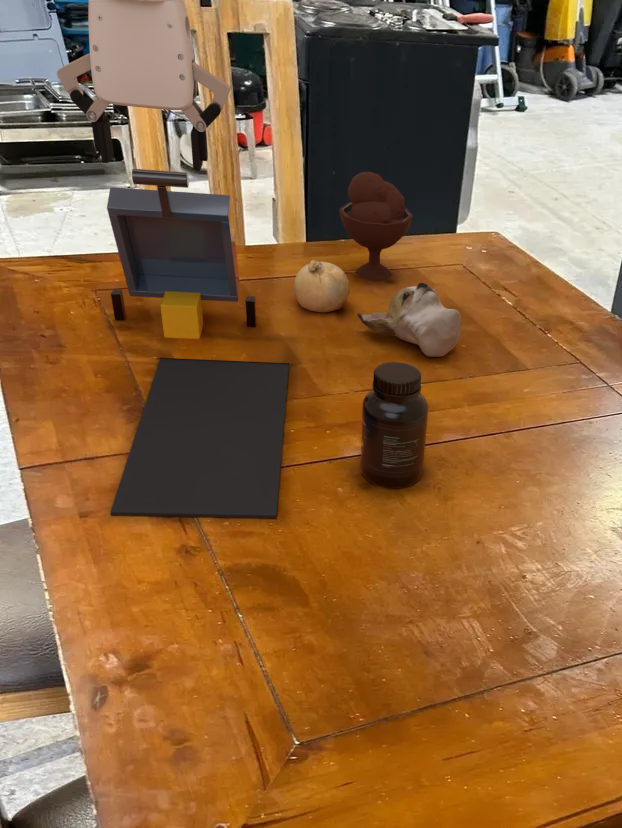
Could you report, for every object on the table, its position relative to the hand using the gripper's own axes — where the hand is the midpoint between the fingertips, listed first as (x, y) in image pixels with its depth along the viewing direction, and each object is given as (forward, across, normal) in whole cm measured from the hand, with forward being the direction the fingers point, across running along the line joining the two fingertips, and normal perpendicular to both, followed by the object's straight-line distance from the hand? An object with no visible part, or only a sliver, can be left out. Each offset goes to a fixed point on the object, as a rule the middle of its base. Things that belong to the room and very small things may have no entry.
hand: (153, 163), depth 98 cm
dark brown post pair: (+23, -1, -9) cm, 25 cm away
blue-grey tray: (+9, 0, -9) cm, 12 cm away
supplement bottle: (+23, -27, +26) cm, 44 cm away
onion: (+23, -19, -17) cm, 34 cm away
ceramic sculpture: (+23, -32, -7) cm, 40 cm away
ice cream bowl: (+23, -27, -31) cm, 47 cm away
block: (+20, -1, -4) cm, 21 cm away
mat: (+23, -7, +14) cm, 27 cm away
